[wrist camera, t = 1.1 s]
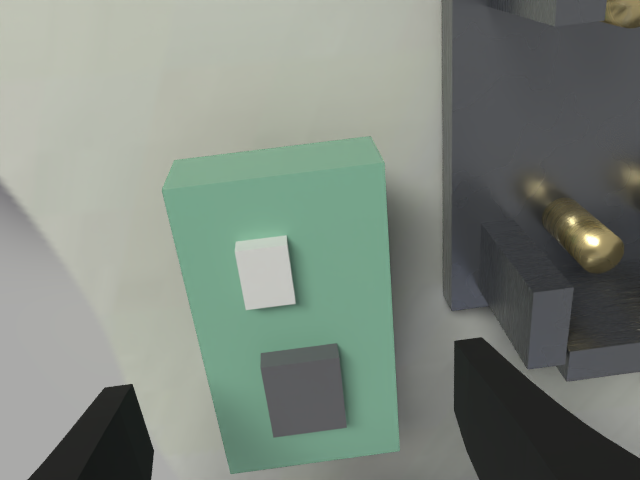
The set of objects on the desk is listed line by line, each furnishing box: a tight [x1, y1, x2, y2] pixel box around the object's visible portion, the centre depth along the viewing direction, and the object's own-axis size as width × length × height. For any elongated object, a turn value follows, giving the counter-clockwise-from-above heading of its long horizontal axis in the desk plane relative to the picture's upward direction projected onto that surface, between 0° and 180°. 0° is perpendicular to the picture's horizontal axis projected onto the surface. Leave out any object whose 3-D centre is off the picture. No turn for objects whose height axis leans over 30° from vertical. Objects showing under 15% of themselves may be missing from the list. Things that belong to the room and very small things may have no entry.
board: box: [162, 136, 400, 474], centre depth 16 cm, size 5×9×3 cm, turn 6°
